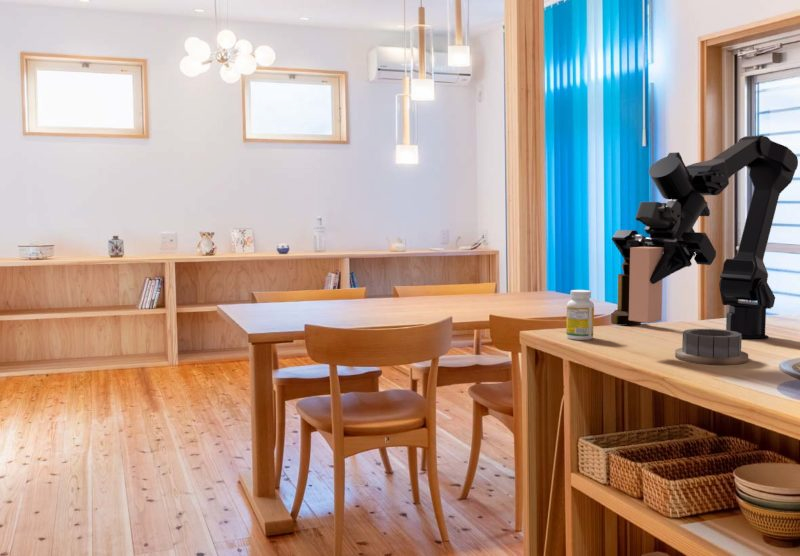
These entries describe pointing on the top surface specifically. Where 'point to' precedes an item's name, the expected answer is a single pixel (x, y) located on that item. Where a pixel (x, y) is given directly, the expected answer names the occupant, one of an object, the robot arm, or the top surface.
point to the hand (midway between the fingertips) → (641, 281)
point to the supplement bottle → (580, 315)
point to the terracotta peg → (644, 285)
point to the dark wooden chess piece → (623, 298)
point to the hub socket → (711, 347)
